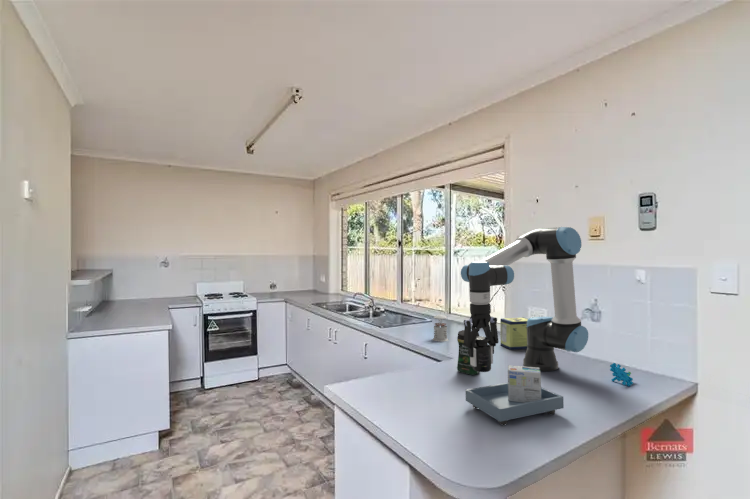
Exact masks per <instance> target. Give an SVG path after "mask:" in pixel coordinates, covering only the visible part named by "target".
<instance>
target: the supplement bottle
mask: <svg viewBox="0 0 750 499" xmlns="http://www.w3.org/2000/svg"><path fill="white" fill-rule="evenodd" d="M474 348H475V349H476V367H474V366H473V369H474V370H475V371H478V372H479V373H488V372H490V371H492V364H491V348H490V346H489V344H488V338H487V337H486V336H482V335H481V336H480V335H479V336H478V337H477V339H476V342H475V346H474Z"/></svg>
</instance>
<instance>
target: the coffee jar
mask: <svg viewBox="0 0 750 499" xmlns="http://www.w3.org/2000/svg"><path fill="white" fill-rule="evenodd" d="M478 336H480V333H479V332H478V335H477V337H478ZM456 339H457V344H458V357H457V367H456V369H457V371H458V372H459V373H461V374H465V375H471V376H473V375H478V374H479V373H480V372H478V371H475V370H474V369H473V366H472V365H470V357H469V352H468V348H467V347H465V346H464V345H463V344H464V329H463V330H459V331H458V333H457V337H456Z"/></svg>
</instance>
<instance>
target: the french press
mask: <svg viewBox="0 0 750 499" xmlns="http://www.w3.org/2000/svg"><path fill="white" fill-rule="evenodd" d="M442 301H443V300H442V298H441V299H440V298H439V299H438V302H442ZM433 319H436V320H438V322H435V323H434V326H433V338H432V341H434V342H440V343H441V342H442V343H443V342H449V339H448V328H447V327H448V326H447V323H445V322H443V320H447V319H448V317H447V316H446V315H444V314H441V313H439V314H436V315H434V316H433Z"/></svg>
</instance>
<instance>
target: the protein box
mask: <svg viewBox="0 0 750 499" xmlns="http://www.w3.org/2000/svg"><path fill="white" fill-rule="evenodd" d="M528 319H529V318H527V317H523V316H522V317H509V318H508V317H507V318H500V320H499V321H500V324H499V326H500V346H501V347H503V348H506V349H508V350H510V351H512V350H525V349H526V350H527V320H528Z"/></svg>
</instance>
